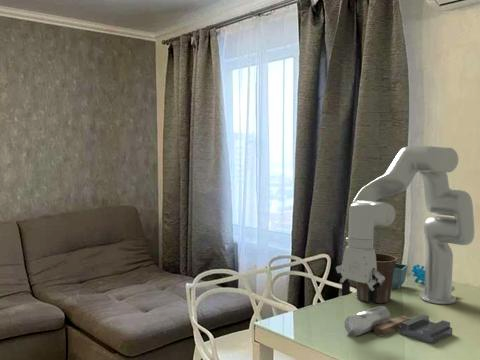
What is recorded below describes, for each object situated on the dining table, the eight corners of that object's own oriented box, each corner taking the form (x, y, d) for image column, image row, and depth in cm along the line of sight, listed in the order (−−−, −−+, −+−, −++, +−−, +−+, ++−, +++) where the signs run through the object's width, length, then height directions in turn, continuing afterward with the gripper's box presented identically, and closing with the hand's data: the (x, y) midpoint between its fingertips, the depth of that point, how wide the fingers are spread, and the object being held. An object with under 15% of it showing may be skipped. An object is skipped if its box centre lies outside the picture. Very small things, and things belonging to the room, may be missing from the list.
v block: (419, 324, 162) (419, 313, 162) (452, 334, 154) (452, 323, 154) (398, 333, 155) (399, 322, 154) (432, 344, 146) (432, 332, 146)
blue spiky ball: (420, 283, 205) (410, 262, 211) (411, 291, 209) (401, 270, 215) (440, 284, 209) (429, 264, 216) (431, 291, 213) (421, 271, 219)
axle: (373, 320, 165) (375, 303, 165) (389, 327, 161) (391, 309, 160) (343, 331, 155) (345, 313, 154) (359, 339, 151) (361, 320, 150)
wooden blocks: (375, 313, 172) (376, 307, 172) (410, 324, 163) (410, 318, 162) (347, 324, 162) (347, 318, 162) (382, 335, 152) (382, 329, 152)
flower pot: (401, 291, 199) (402, 269, 199) (379, 287, 204) (380, 266, 204) (407, 286, 207) (407, 264, 206) (385, 282, 212) (386, 262, 211)
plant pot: (366, 290, 201) (367, 250, 200) (403, 299, 189) (405, 257, 188) (343, 298, 190) (344, 256, 188) (381, 308, 178) (383, 263, 177)
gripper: (330, 240, 157) (328, 294, 158) (377, 249, 144) (375, 308, 145) (345, 238, 162) (343, 290, 163) (392, 246, 149) (390, 303, 150)
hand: (358, 298), depth 154 cm, fingers open, 9 cm apart
